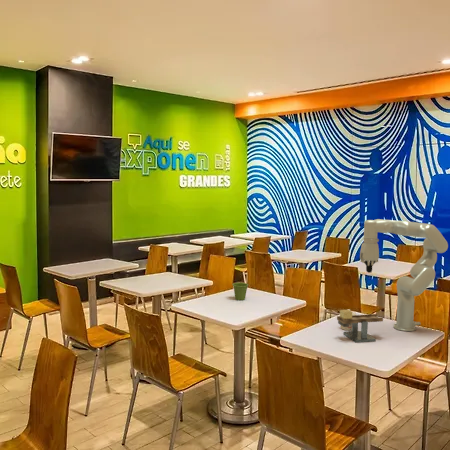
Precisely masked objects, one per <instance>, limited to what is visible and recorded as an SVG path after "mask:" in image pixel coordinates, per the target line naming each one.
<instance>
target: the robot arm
mask: <svg viewBox="0 0 450 450" xmlns="http://www.w3.org/2000/svg"><path fill="white" fill-rule="evenodd" d="M363 224H364V226H363V227H364V228H363V243H361V248H360V252H359V259H360V263H362V264H365V266H366V267H365V270H366V273H368V274H369V273H372V271H373V266H374V264H376V263H379V259H380V254H379V253H380V251H379V244H378V243H379V241H380V239H379V238H378V233H382V234H388V233H390V234H395V235H398V236H405V237H414V238H422V239H423V238H424V240H423V242H422V245H423V246H422V247H423V253H422V256H421V257H420V258H419V259H418V260H417V262H415V263H414V264H413V266H412V267H411V269H410V271H409V274H410V276H405V275H404V276H401V277H399V278H398V279H397V281H396V291H397V293H396V294H397V302H396V303H397V304H396V307H397V308H396V323H394V324H393V329H395V330H398V331H401V332H403V331H404V332H414V331H416V330H417V329H416V326H421V325H422V324H421V321H414V314H415V313H414V312H415V297H418V296H420V295H421V294H423V292H425V290H426V289H427V288H428V287H429V286H430V285H431V284H432V283H433V281H434V280H435V278H436V271H435V269H434V268H433V267H434V266H435V264H436V263H437V261H438V254H443V253H445V252H446V251H448V248H449V243H448V241H447V240H446V239H445V237H444V236H443V234H442V232H441V231H440V230H439V229H438V228H437V227H436V226H435V225H434V224H431V223H425V222H415V221H406V220H391V219H382V218H381V219H380V218H377V219H374V220H373V219H367V220H365V221H364V222H363ZM437 253H438V254H437Z"/></svg>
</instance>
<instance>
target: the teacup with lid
mask: <svg viewBox="0 0 450 450" xmlns="http://www.w3.org/2000/svg"><path fill="white" fill-rule="evenodd" d="M346 310H350V311H351V309H346ZM351 312H352V315H357V314H356V313H355V312H353V311H351ZM340 329H341V330H344V331H347V332H349V331H352V323H349V327H343V326H341V325H340Z"/></svg>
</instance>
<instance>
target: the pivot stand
mask: <svg viewBox="0 0 450 450" xmlns="http://www.w3.org/2000/svg"><path fill="white" fill-rule="evenodd" d="M360 324H361V325H360V326H361V327H360V328H361V329H360V330H359V323H352V331H343V333H342V334H343V335H344V336H345V337H346V338H348V339H350V340H351V341H352V342H354V343H373V342H374V343H375V342H376V338H375V337H373V336H372V335H370V334H369V333H368V328H369V327H368V325H369V322H367V321H362V323H360Z"/></svg>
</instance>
